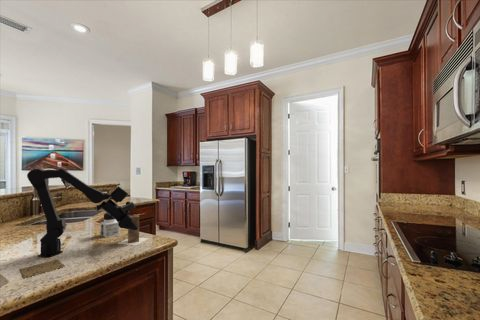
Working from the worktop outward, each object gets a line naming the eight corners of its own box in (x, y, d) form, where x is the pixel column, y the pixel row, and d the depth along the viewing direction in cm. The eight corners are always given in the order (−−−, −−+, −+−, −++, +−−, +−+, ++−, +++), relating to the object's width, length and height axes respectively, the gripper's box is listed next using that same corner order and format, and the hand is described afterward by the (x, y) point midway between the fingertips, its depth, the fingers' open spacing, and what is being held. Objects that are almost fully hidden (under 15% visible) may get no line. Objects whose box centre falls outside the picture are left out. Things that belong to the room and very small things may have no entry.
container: (105, 238, 123) (106, 214, 124) (99, 235, 128) (100, 212, 129) (120, 234, 130) (120, 212, 130) (114, 232, 134) (114, 210, 135)
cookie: (58, 260, 95) (58, 257, 95) (65, 268, 87) (65, 265, 87) (18, 270, 86) (18, 267, 86) (23, 280, 78) (23, 277, 78)
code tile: (136, 245, 111) (136, 245, 111) (116, 244, 113) (116, 243, 113) (148, 238, 122) (148, 238, 122) (131, 237, 124) (131, 237, 124)
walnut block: (128, 243, 114) (128, 217, 114) (127, 240, 118) (128, 215, 119) (139, 241, 116) (139, 216, 117) (138, 238, 121) (138, 214, 121)
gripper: (126, 199, 108) (150, 219, 113) (124, 195, 124) (145, 213, 129) (107, 217, 104) (133, 237, 109) (108, 211, 120) (130, 228, 125)
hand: (136, 228), depth 118 cm, fingers open, 7 cm apart
